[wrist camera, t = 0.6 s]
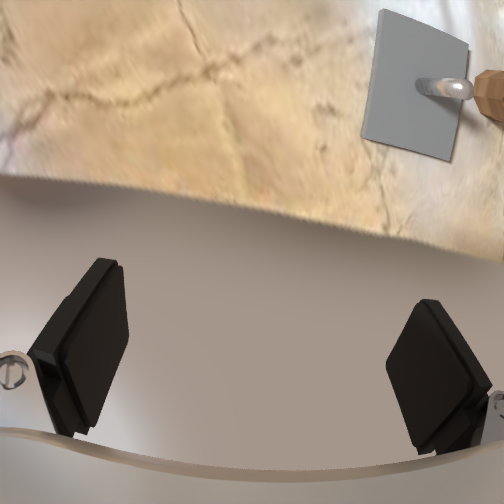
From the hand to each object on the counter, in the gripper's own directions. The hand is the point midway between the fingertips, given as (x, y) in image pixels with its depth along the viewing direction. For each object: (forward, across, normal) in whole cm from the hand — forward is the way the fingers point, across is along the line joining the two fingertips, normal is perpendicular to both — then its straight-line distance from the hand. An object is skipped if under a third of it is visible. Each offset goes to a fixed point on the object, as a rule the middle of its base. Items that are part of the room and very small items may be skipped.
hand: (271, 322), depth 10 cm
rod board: (+29, -17, -12) cm, 36 cm away
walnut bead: (+29, -29, -15) cm, 44 cm away
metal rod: (+27, -17, -12) cm, 34 cm away
